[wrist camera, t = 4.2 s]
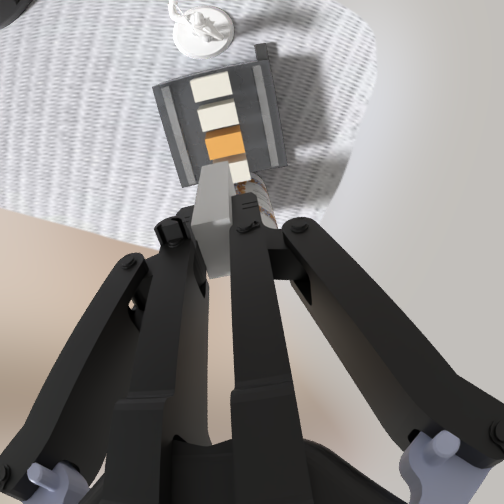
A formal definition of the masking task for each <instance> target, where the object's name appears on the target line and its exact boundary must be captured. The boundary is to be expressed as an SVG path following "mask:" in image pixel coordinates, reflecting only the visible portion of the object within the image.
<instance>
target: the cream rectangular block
mask: <svg viewBox="0 0 504 504" xmlns="http://www.w3.org/2000/svg"><path fill="white" fill-rule="evenodd" d="M190 84H191V88H192V92H193V96H194V100H195V103H196V102H200V101H204V100H209V99H213V98H217V97H222V96H226V95H231V94H232V89H231V84H230V80H229V76H228V71H225V72H220V73H216V74H211V75H207V76H203V77H199V78H195V79H192V80H191V81H190Z"/></svg>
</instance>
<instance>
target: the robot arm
mask: <svg viewBox="0 0 504 504" xmlns="http://www.w3.org/2000/svg"><path fill="white" fill-rule="evenodd" d="M31 1H32V0H0V29H2V28H4V27H6V26H7V25H9V24H10V23H12V22H13V21H14V20H15V19H16V18H17V17H18V16H19V15H20V14H21V13H22V12H23V11H24V10H25V9H26V8H27V6H28V5H29V4H30V2H31ZM154 230H155V233H156V235H157V238H158V240H159V242H160V245H161V247H160V251H159V254H157V255H154V256H152V257H150V258H147V259H144V256H143V255H142V254H140V253H131V254H128V255H126V256H124V257H123V258H122V259H120V260H119V261H118V262H117V264H116V265H115V266H114V268H113V269H112V271H111V272H110V274H109V275H108V277H107V278H106V280H105V281H104V283H103V284H102V286H101V287H100V289H99V290H98V292H97V293H96V295H95V297H94V298H93V300H92V301H91V303H90V305H89V306H88V308H87V309H86V311H85V313H84V314H83V316H82V317H81V319H80V321H79V322H78V324H77V326H76V327H75V329H74V331H73V333H72V334H71V336H70V337H69V339H68V341H67V343H66V344H65V346H64V348H63V350H62V351H61V354H60V355H59V357H58V359H57V360H56V362H55V364H54V366H53V368H52V370H51V371H50V373H49V376H48V377H47V379H46V381H45V383H44V385H43V387H42V389H41V391H40V393H39V395H38V397H37V399H36V401H35V403H34V405H33V407H32V409H31V411H30V414H29V416H28V418H27V420H26V422H25V424H24V426H23V427H22V428H21V429H20V431H19V432H18V433H17V435H16V436H15V437H14V438H13V439H12V441H11V442H10V443H9V445H8V446H7V447H6V449H5V450H4V451H3V452H2V454H1V455H0V492H2V493H4V494H7V495H8V496H11V497H13V498H15V499H18V500H20V501H21V502H22V503H23V504H408V503H406V502H404V501H403V500H401V499H400V498H398V497H396V496H395V495H393V494H392V493H390V492H389V491H387V490H386V489H384V488H383V487H381V486H380V485H378V484H377V483H375V482H374V481H373V480H371V479H370V478H368V477H367V476H365V475H364V474H363V473H361V472H360V471H358V470H357V469H356V468H354V467H353V466H351V465H350V464H349V463H347V462H346V461H345V460H343V459H342V458H341V457H339V456H338V455H337V454H335V453H334V452H333V451H331V450H330V449H328V448H326V447H325V446H323V445H321V444H318V443H316V442H314V441H310V440H306V439H303V436H302V431H301V425H300V419H299V414H298V408H297V402H296V397H295V391H294V385H293V380H292V374H291V369H290V363H289V358H288V353H287V348H286V342H285V337H284V331H283V326H282V321H281V316H280V310H279V305H278V300H277V295H276V289H275V284H274V279H276V280H290V283H291V285H292V287H293V288H294V290H295V291H296V293H297V295H298V296H299V297H300V299H301V301H302V302H303V304H304V305H305V307H306V308H307V310H308V311H309V312H310V314H311V316H312V317H313V319H314V320H315V322H316V324H317V325H318V326H319V328H320V330H321V331H322V333H323V334H324V336H325V337H326V339H327V340H328V342H329V343H330V345H331V347H332V348H333V350H334V351H335V353H336V354H337V356H338V357H339V359H340V360H341V362H342V363H343V365H344V367H345V368H346V370H347V371H348V373H349V374H350V376H351V377H352V379H353V381H354V382H355V384H356V385H357V387H358V388H359V390H360V391H361V393H362V394H363V396H364V398H365V399H366V401H367V402H368V404H369V406H370V407H371V409H372V410H373V412H374V414H375V415H376V417H377V418H378V420H379V421H380V423H381V425H382V426H383V428H384V429H385V431H386V432H387V433H388V434H389V436H390V437H391V439H392V440H393V441H394V442H395V443H396V444H397V445H398V446H399V447H400V448H401V450H402V451H404V453H403V455H402V456H401V459H400V462H399V471H400V474H401V476H402V478H403V479H404V480H405V482H406V483H407V484H408V486H409V489H410V492H411V497H410V502H409V504H468V503H469V501H470V500H471V498H472V497H473V495H474V494H475V493H476V491H477V489H478V488H479V486H480V485H481V483H482V482H483V480H484V479H485V477H486V476H487V474H488V472H489V471H490V470H491V468H492V467H494V466H495V465H496V464H498V463H500V462H502V461H503V460H504V404H503V403H502V402H500V401H499V400H497V399H496V398H494V397H492V396H491V395H489V394H487V393H486V392H484V391H483V390H481V389H479V388H478V387H476V386H474V385H473V384H471V383H470V382H468V381H466V380H465V379H463V378H462V377H460V376H459V375H457V374H456V373H455V371H454V370H453V369H452V368H451V367H450V365H449V364H448V363H447V362H446V361H445V359H444V358H443V357H442V356H441V355H440V353H439V352H438V351H437V350H436V349H435V347H434V346H433V345H432V344H431V343H430V342H429V341H428V340H427V338H426V337H425V336H424V335H423V334H422V332H421V331H420V330H419V329H418V328H417V327H416V326H415V325H414V323H413V322H412V321H411V320H410V319H409V318H408V317H407V316H406V314H405V313H404V312H403V311H402V310H401V309H400V308H399V307H398V306H397V305H396V304H395V303H394V301H393V300H392V299H391V298H390V297H389V296H388V295H387V294H386V293H385V292H384V290H383V289H382V288H381V287H380V286H379V285H378V284H377V283H376V282H375V281H374V280H373V279H372V278H371V277H370V276H369V275H368V274H367V273H366V272H365V270H364V269H363V268H362V267H361V266H360V265H359V264H357V262H356V261H355V260H354V259H353V258H352V257H351V256H350V255H349V254H348V253H347V252H346V251H345V250H344V249H343V248H342V247H341V246H340V245H339V244H338V243H337V242H336V241H335V240H334V239H333V238H332V237H331V236H330V235H329V234H328V233H327V232H326V231H325V230H324V229H323V228H322V227H321V226H320V225H319V224H318V223H317V222H316V221H314V220H312V219H311V218H306V217H297V218H293V219H290V220H288V221H286V222H285V223H284V224H283V226H282V229H273V228H269V227H267V226H265V225H264V224H263V222H262V219H261V214H260V209H259V204H258V200H257V196H256V195H255V194H254V193H252V192H248V193H244V194H239V195H236V193H235V188H234V184H233V180H232V176H231V172H230V168H229V163H228V160H227V161H223V162H218V163H214V164H210V165H205V166H202V168H201V173H200V178H199V184H198V189H197V194H196V199H195V205H193V206H188V207H184V208H181V209H180V211H179V212H178V213H177V214H176V216H173V217H169V218H166V219H164V220H162V221H161V222H159V223H158V224H157V225H156V226H155V228H154ZM206 270H207V273H208V276H209V278H210V279H213V278H218V277H224V276H229V275H230V276H231V304H232V331H233V352H234V353H233V354H234V374H235V388H234V390H233V391H232V392H231V399H230V406H231V427H232V439H230V440H227V441H224V442H221V443H218V444H215V445H212V443H211V441H210V438H209V435H208V427H207V425H208V423H207V362H208V313H209V311H208V310H209V284H208V282H207V279H206ZM130 300H132V301H133V303H134V307H133V308H132V309H130V308H129V306H128V305H129V302H130ZM106 454H107V455H106ZM105 456H106V464H105V473H104V474H103V475H102V476H101V477H100V479H99V480H98V481H97V482H96V483H95V484H94V486H93V487H92V488H91V489H90V488H89V486H90V485H91V483H92V482H93V481H94V479H95V477H96V476H97V474H98V472H99V470H100V468H101V466H102V464H103V461H104V459H105Z"/></svg>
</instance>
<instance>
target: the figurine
mask: <svg viewBox="0 0 504 504" xmlns="http://www.w3.org/2000/svg"><path fill="white" fill-rule="evenodd" d="M177 4H178V3H177V0H169V3H168V8H169V14H170V18H171V19H172V20H173V21H176V23H175V26H174V29H173V39H174V42H175V45H176V46H177V48H178V49H179V50H180V51H181V52H182V53H183V54H185V55H186V56H188V57H191V58H194V59H209V58H213V57H215V56H217V55H219V54H221V53H222V52H224V51H225V50H226V49H227V48H228V47H229V45H230V43H231V42H232V39H233V36H234V25H233V22H232V20H231V18H230V17H229V16H228V15H227V14H226V12H224V11H223V10H221V9H219V8H217V7H213V6H197V7H194V8H191V9H190V10H188V11H186V12H185V13H182V12H181V10H180V9H179V7H178V6H177ZM175 5H176V6H177V7H178V9H179V10H180V12H181V13H182V15H181V16H180V15H179V14H178V13H177V11H176V7H175Z"/></svg>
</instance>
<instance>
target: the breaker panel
mask: <svg viewBox="0 0 504 504" xmlns="http://www.w3.org/2000/svg"><path fill="white" fill-rule="evenodd" d="M225 71H228V76H229V80H230V84H231V89H232V94H231V95H226V96H222V97H217V98H213V99H209V100H204V101H200V102H196V103H195V100H194V96H193V92H192V88H191V84H190V81H191V80H192V79H195V78H199V77H203V76H207V75H211V74H216V73H220V72H225ZM152 89H153V92H154V96H155V99H156V103H157V107H158V110H159V114H160V117H161V120H162V124H163V127H164V131H165V134H166V137H167V141H168V144H169V147H170V151H171V154H172V157H173V160H174V164H175V167H176V170H177V173H178V176H179V179H180V183H181V186H182V188H184V187H188V186H192V185H196V184H199V178H200V173H201V168H202V166H205V165H210V164H213V160H210V158H209V154H208V150H207V146H206V143H205V137H206V132H210V131H214V130H219V129H223V128H228V127H232V126H237V125H240V130H241V135H242V139H243V144H244V149H245V153H246V158H247V162H248V167H249V172H250V173H251V172H256V171H261V170H266V169H271V168H276V167H282V166H287V160H286V153H285V147H284V141H283V135H282V129H281V123H280V117H279V111H278V106H277V100H276V94H275V89H274V84H273V78H272V73H271V68H270V63H269V60H256V61H250V62H245V63H239V64H234V65H229V66H225V67H220V68H216V69H211V70H207V71H203V72H199V73H195V74H191V75H187V76H183V77H180V78H176V79H173V80H169V81H166V82H163V83H160V84H158V85H156V86H153V87H152ZM232 98H234V103H235V107H236V112H237V116H238V121H239V124H236V125H231V126H226V127H222V128H217V129H213V130H209V131H205V132H203V131H202V127H201V123H200V119H199V116H198V112H197V110H198V108H199V106H201V105H205V104H209V103H214V102H218V101H222V100H227V99H232Z"/></svg>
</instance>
